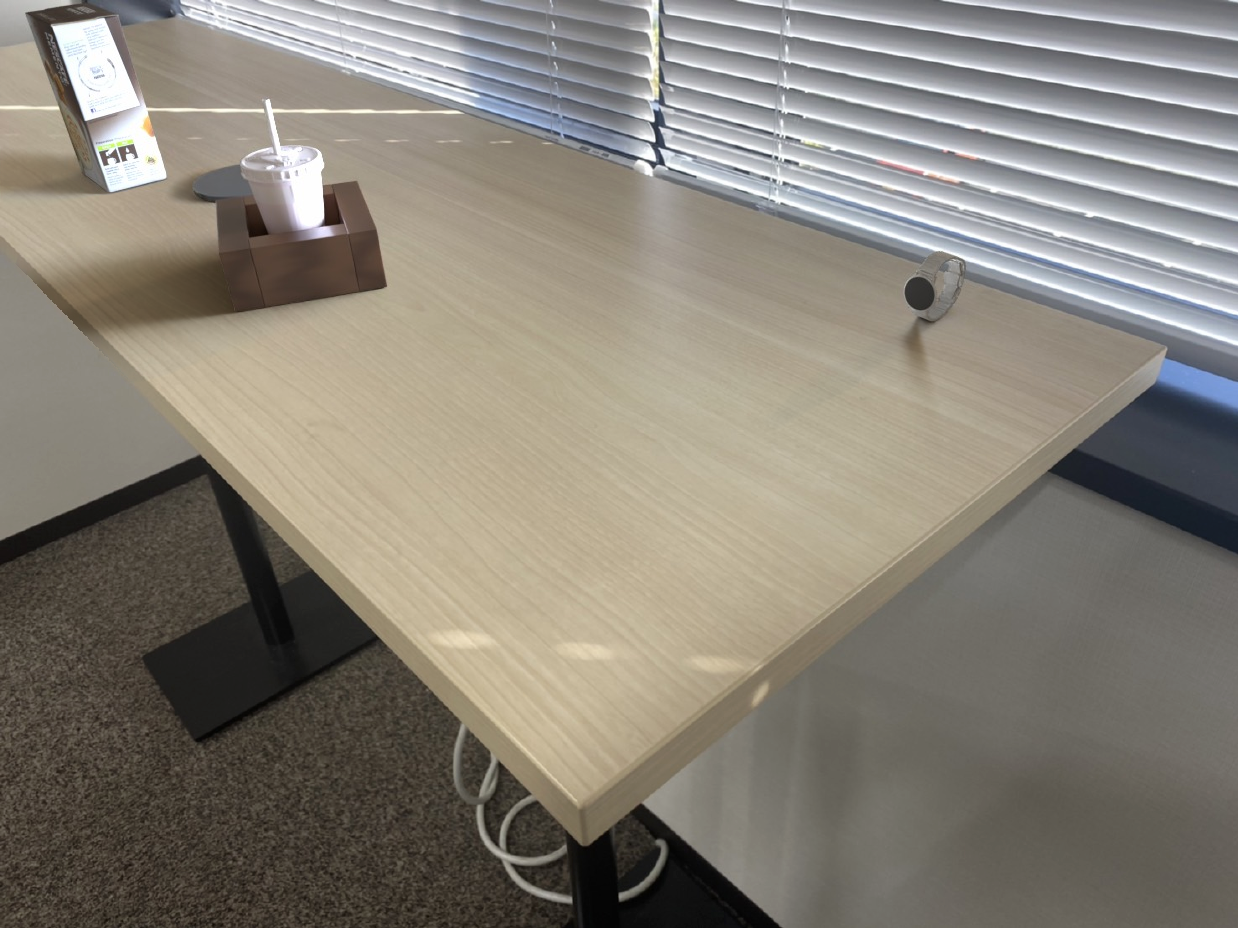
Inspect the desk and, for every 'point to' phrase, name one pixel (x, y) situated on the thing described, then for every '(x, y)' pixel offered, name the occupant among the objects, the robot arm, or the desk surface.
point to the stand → (299, 252)
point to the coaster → (222, 184)
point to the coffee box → (98, 94)
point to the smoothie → (285, 183)
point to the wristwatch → (924, 291)
